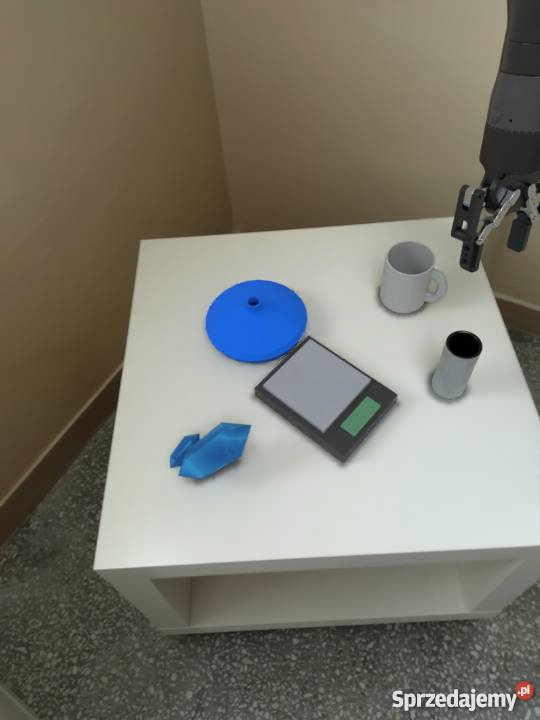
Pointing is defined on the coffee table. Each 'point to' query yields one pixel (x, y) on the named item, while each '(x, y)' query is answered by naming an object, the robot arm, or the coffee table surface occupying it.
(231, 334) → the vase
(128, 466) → the coffee table surface
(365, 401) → the scale
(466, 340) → the grey cylindrical tube
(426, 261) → the cup
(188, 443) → the crystal
